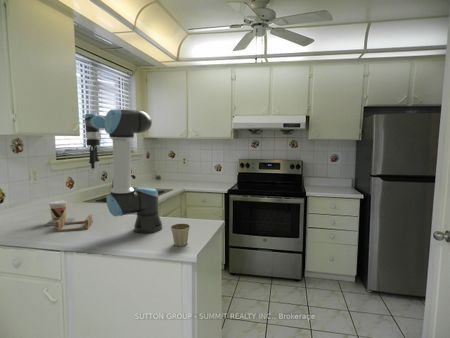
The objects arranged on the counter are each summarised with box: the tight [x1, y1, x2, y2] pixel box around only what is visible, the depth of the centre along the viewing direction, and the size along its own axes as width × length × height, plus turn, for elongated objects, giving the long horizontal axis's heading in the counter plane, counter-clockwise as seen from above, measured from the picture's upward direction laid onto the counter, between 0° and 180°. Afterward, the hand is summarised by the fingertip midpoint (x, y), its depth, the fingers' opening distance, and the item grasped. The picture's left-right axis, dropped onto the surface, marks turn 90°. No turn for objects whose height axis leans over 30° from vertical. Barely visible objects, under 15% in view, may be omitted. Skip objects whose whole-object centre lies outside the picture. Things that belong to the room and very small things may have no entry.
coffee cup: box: [49, 200, 68, 223], centre depth 178 cm, size 9×9×12 cm
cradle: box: [54, 214, 94, 233], centre depth 170 cm, size 15×16×5 cm
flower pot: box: [169, 223, 191, 247], centre depth 141 cm, size 9×9×9 cm
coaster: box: [43, 217, 75, 227], centre depth 179 cm, size 13×13×1 cm
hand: (95, 172), depth 187 cm, fingers open, 13 cm apart
